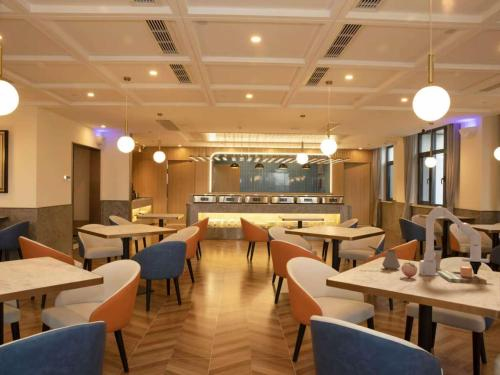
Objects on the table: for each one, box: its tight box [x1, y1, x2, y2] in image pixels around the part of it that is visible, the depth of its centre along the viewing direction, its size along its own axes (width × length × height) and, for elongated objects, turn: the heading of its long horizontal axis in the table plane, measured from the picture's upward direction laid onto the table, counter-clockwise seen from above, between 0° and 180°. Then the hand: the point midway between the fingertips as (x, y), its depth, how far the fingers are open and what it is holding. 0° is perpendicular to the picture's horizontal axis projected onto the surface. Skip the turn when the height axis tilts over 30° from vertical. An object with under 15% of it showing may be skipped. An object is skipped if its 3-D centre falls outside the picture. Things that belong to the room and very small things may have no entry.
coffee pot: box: [367, 245, 401, 271], centre depth 273 cm, size 21×12×15 cm, turn 70°
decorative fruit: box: [400, 261, 418, 278], centre depth 244 cm, size 9×8×10 cm
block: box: [459, 266, 473, 277], centre depth 244 cm, size 5×5×5 cm
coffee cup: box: [434, 245, 443, 270], centre depth 277 cm, size 9×9×15 cm
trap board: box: [437, 270, 487, 285], centre depth 244 cm, size 20×23×2 cm
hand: (475, 274), depth 243 cm, fingers closed
